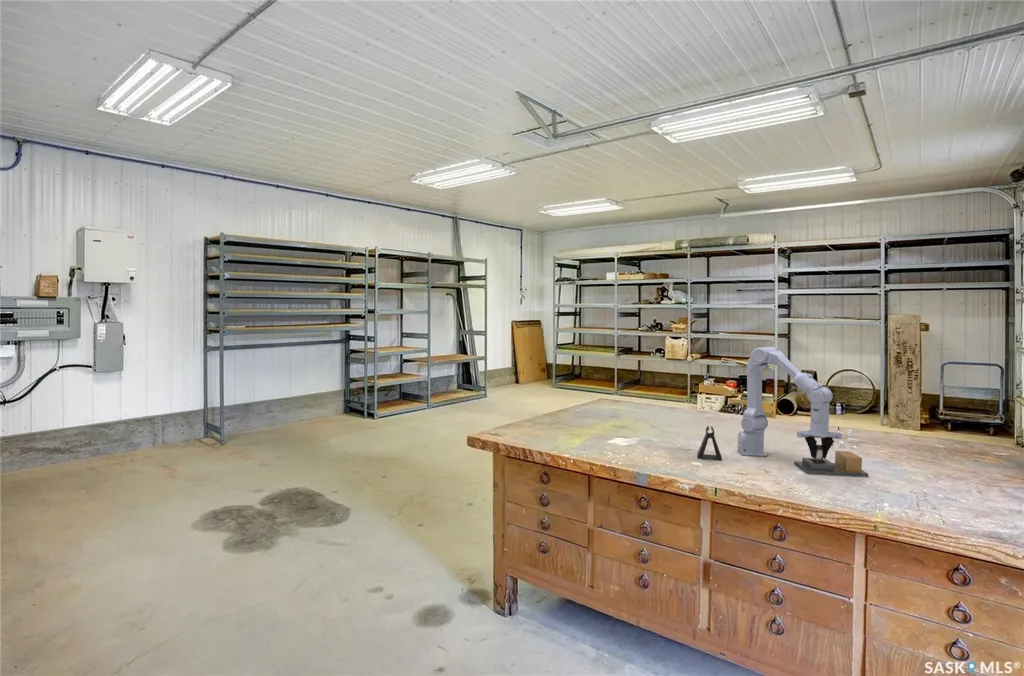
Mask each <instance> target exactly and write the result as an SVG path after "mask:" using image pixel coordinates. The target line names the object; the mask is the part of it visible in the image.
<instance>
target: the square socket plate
mask: <svg viewBox="0 0 1024 676" xmlns="http://www.w3.org/2000/svg"><path fill="white" fill-rule="evenodd" d="M834 451H835V452H834V453H835V456H834V462H831V461H830V460H828V459H827V458H823V463H814V458H812V457H802V458H801V461H799V460H797V461H796V460H795V461H793V464H794V465H795V466H796V467H797V468H798V469H800V470H801V471H802V472H804V473H805V474H806V475H818V476H819V475H820V476H836V477H837V476H840V477H841V476H842V477H857V478H858V477H861V478H862V477H863V478H865V477H866V478H869V473H868V472H866V471H865V470H863V469H862V468H863V466H862V465H863V458H862V457H860V456H859V455H857V454H855V453H853V451H849V450H848V451H847V450H834Z"/></svg>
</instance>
